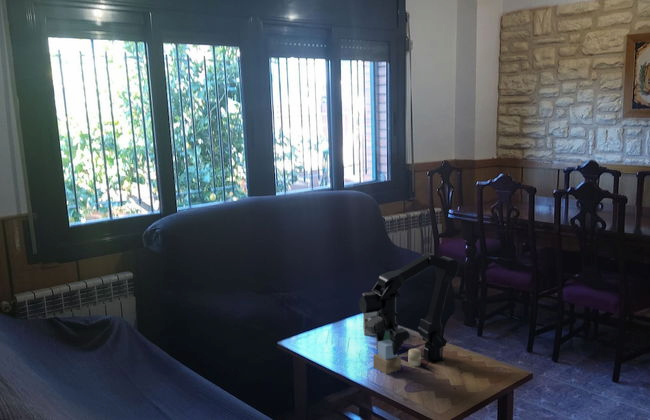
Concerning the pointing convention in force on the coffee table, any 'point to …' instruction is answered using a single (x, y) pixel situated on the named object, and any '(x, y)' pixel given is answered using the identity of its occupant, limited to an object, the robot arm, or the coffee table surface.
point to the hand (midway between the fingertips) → (387, 350)
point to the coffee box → (365, 318)
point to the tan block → (387, 364)
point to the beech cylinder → (414, 357)
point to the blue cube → (386, 349)
